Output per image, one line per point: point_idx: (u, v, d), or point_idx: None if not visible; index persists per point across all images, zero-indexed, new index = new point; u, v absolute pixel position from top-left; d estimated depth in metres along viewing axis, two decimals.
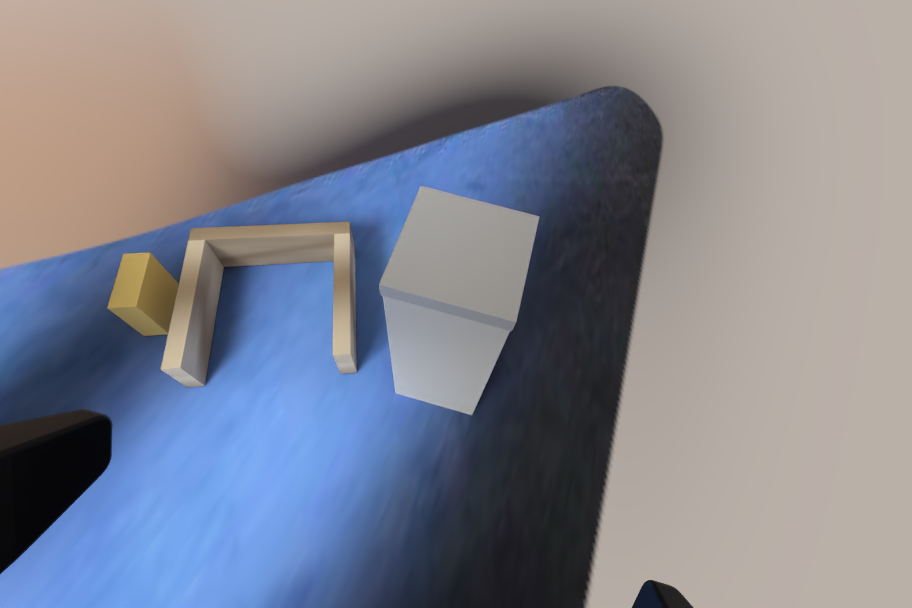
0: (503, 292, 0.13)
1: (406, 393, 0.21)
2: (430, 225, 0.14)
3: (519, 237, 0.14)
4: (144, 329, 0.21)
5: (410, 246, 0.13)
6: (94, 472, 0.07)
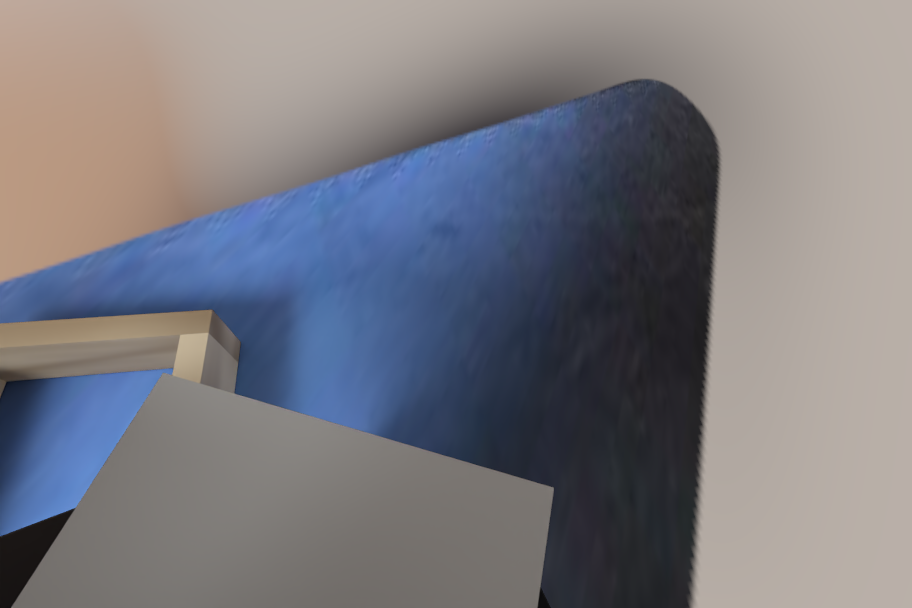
0: None
1: None
2: (142, 562, 0.04)
3: (481, 603, 0.04)
4: None
5: None
6: None
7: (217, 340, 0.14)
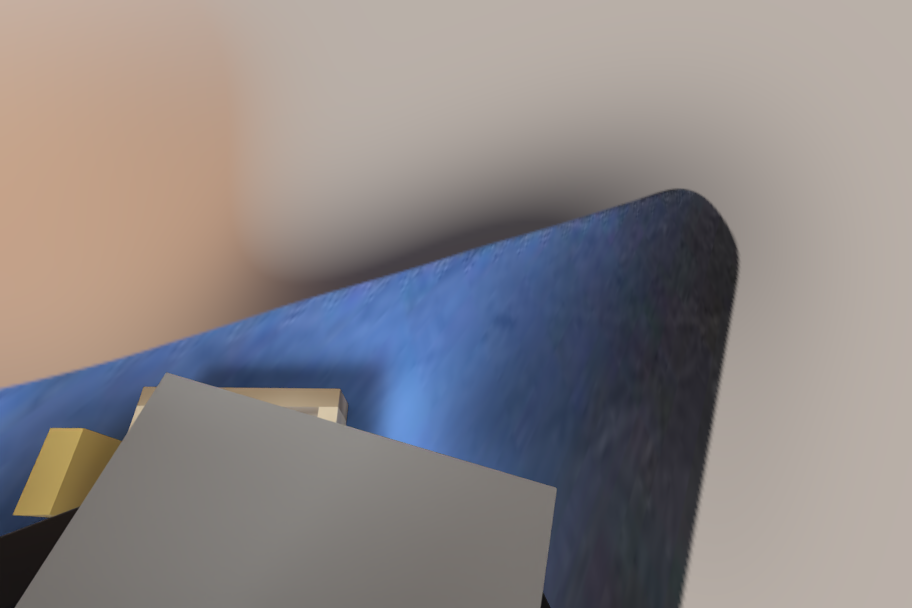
0: None
1: None
2: (147, 562, 0.04)
3: (484, 603, 0.04)
4: None
5: None
6: None
7: (340, 410, 0.19)
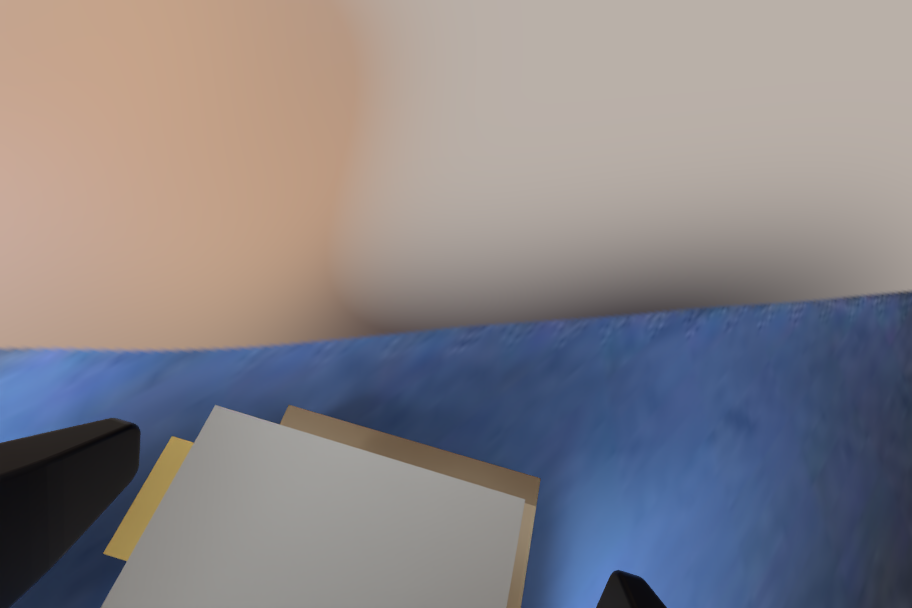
0: None
1: None
2: (208, 555, 0.05)
3: (466, 589, 0.05)
4: None
5: None
6: (122, 481, 0.07)
7: None
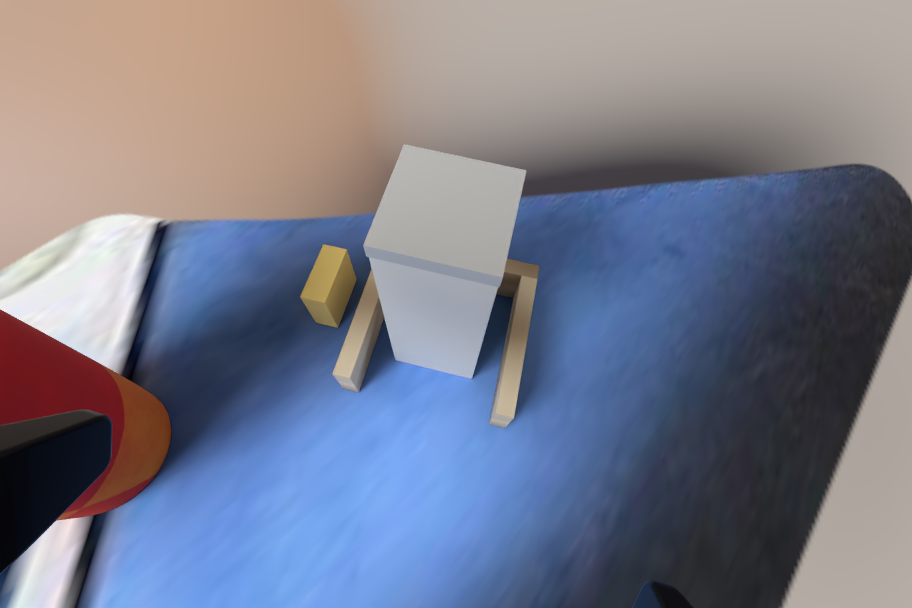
0: (489, 248, 0.12)
1: (405, 359, 0.21)
2: (414, 183, 0.13)
3: (505, 192, 0.13)
4: (319, 318, 0.22)
5: (394, 206, 0.13)
6: (94, 472, 0.07)
7: None
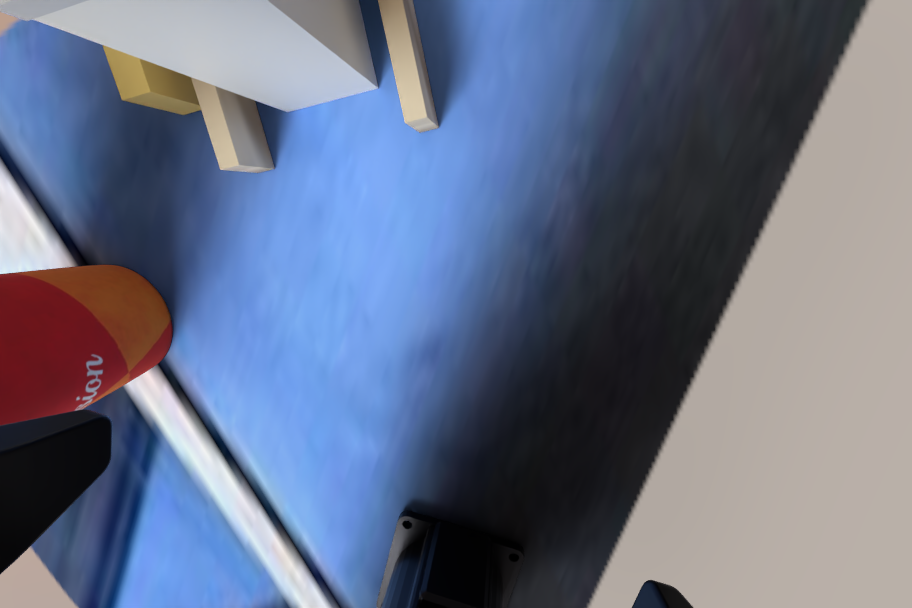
0: None
1: (294, 106, 0.17)
2: None
3: None
4: (178, 109, 0.17)
5: None
6: (94, 472, 0.07)
7: None
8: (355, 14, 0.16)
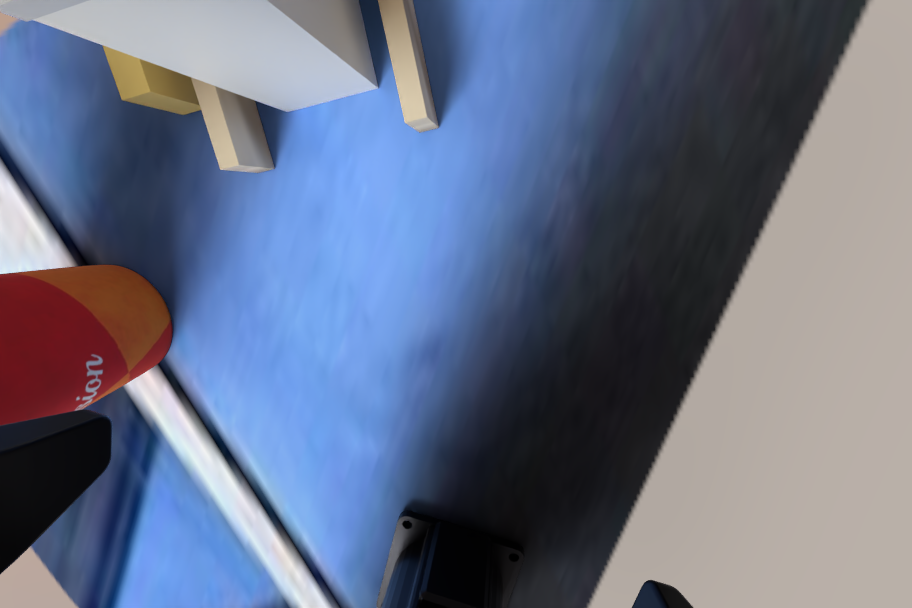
0: None
1: (294, 106, 0.17)
2: None
3: None
4: (178, 109, 0.17)
5: None
6: (94, 472, 0.07)
7: None
8: (355, 14, 0.16)
